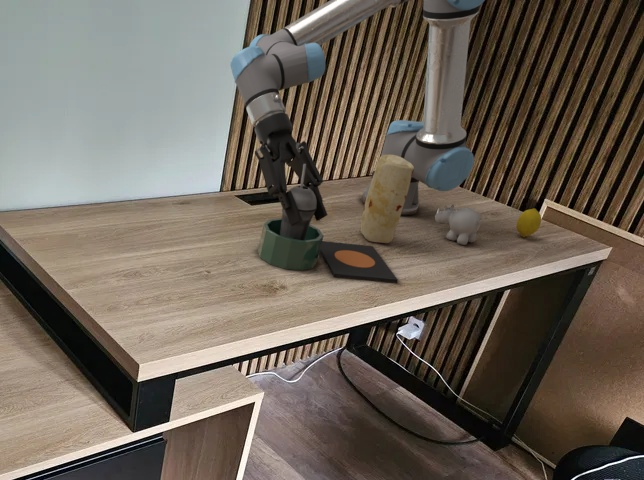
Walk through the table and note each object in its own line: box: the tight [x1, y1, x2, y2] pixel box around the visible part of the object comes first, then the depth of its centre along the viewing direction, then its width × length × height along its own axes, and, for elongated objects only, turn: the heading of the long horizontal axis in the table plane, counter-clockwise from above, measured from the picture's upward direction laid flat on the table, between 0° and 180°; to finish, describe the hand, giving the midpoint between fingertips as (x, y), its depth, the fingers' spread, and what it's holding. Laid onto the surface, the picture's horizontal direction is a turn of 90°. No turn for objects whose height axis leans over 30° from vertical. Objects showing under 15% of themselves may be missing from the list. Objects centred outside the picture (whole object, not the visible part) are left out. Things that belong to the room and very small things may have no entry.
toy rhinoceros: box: [434, 204, 482, 246], centre depth 174 cm, size 7×12×8 cm, turn 35°
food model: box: [360, 155, 414, 244], centre depth 163 cm, size 10×7×20 cm
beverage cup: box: [280, 164, 317, 240], centre depth 145 cm, size 7×7×20 cm
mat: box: [319, 240, 399, 284], centre depth 153 cm, size 18×14×1 cm
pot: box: [257, 217, 325, 271], centre depth 149 cm, size 13×13×6 cm
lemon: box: [515, 208, 542, 238], centre depth 182 cm, size 6×6×8 cm
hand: (309, 220), depth 143 cm, fingers closed on beverage cup, 7 cm apart
